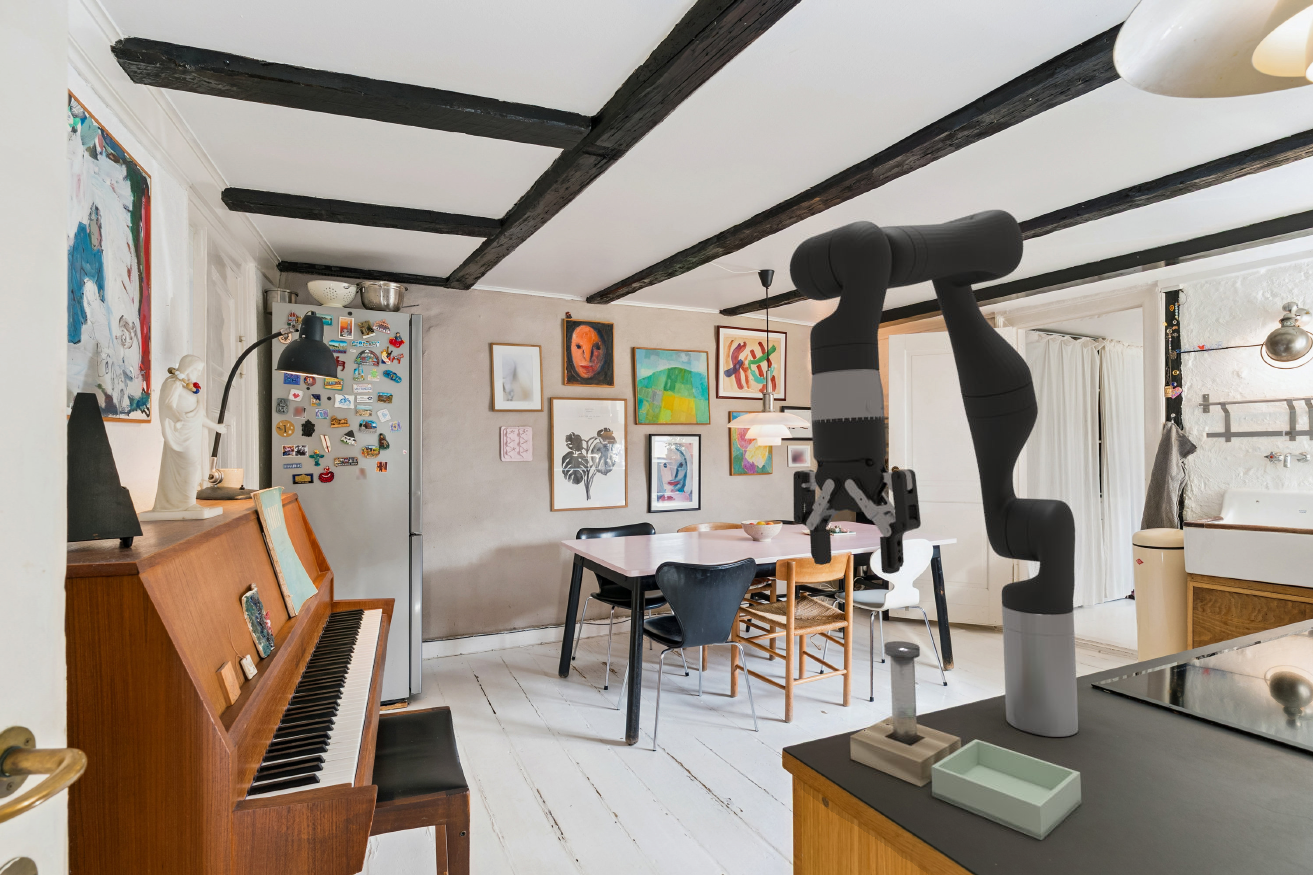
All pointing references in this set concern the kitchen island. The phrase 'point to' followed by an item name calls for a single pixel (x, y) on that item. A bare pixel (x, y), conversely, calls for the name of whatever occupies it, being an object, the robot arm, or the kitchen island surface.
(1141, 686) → the kitchen island surface
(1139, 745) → the kitchen island surface
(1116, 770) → the kitchen island surface
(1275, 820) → the kitchen island surface
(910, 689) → the steel pin
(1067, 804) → the green tray
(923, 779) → the socket block
